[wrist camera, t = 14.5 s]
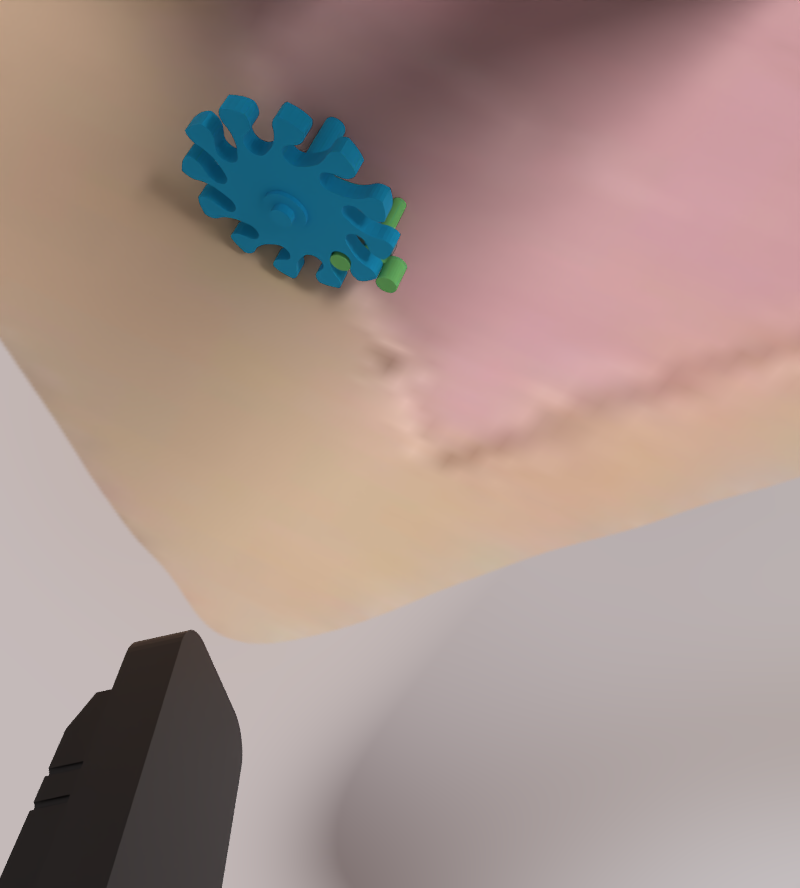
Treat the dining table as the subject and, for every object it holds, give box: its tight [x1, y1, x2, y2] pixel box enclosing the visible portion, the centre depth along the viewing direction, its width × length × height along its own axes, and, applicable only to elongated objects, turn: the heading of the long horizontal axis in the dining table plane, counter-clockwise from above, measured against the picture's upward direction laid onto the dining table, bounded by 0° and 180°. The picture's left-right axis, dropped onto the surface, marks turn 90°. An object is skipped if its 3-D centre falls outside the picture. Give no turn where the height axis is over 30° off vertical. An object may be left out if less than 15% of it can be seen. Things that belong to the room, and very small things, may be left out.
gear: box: [182, 95, 407, 293], centre depth 33 cm, size 11×6×10 cm
